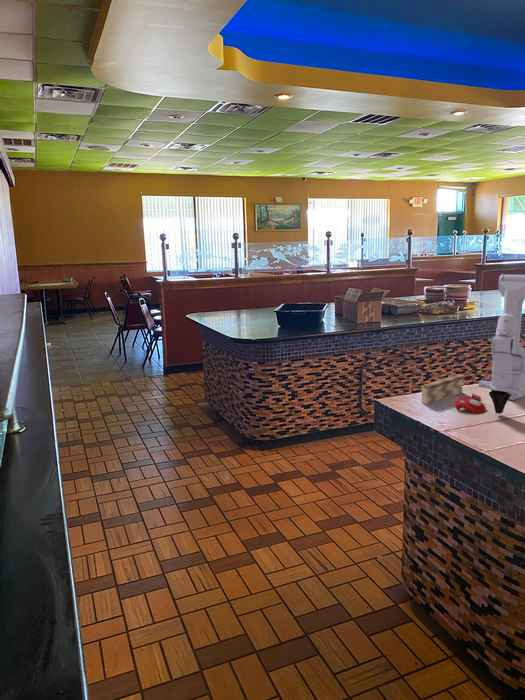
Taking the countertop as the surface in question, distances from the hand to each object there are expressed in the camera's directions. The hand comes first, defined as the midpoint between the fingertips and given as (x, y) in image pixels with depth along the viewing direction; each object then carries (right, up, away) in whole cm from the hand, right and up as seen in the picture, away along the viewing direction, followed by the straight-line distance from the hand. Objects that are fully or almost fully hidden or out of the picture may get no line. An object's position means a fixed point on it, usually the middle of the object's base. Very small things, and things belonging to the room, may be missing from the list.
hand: (499, 412), depth 172 cm
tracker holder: (-5, 0, +8) cm, 10 cm away
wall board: (-12, +3, +19) cm, 23 cm away
